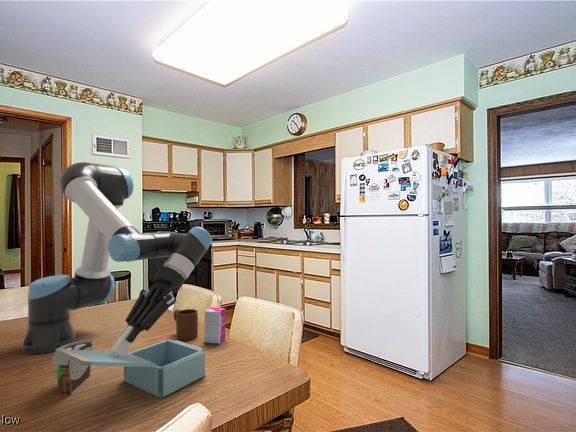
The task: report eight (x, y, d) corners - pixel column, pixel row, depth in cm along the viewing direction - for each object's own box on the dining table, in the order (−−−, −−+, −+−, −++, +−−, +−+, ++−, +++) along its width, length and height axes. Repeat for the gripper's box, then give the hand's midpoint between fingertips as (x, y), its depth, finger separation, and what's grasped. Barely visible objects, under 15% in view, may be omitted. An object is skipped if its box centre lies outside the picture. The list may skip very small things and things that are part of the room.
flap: (127, 352, 88) (56, 348, 74) (155, 363, 82) (82, 360, 68) (126, 356, 88) (54, 352, 74) (154, 367, 81) (81, 365, 68)
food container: (69, 375, 93) (69, 339, 93) (92, 374, 93) (92, 338, 93) (40, 399, 81) (40, 357, 81) (67, 398, 81) (67, 356, 81)
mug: (165, 335, 125) (165, 310, 125) (183, 329, 131) (183, 305, 131) (184, 342, 117) (184, 315, 117) (202, 336, 123) (202, 311, 123)
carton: (170, 360, 102) (170, 337, 102) (209, 374, 93) (209, 349, 93) (122, 380, 90) (122, 354, 90) (162, 399, 80) (162, 370, 80)
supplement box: (219, 345, 115) (219, 311, 115) (203, 344, 116) (203, 311, 116) (226, 339, 120) (225, 307, 121) (210, 338, 122) (210, 306, 122)
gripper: (197, 283, 92) (142, 366, 78) (167, 279, 99) (112, 354, 85) (181, 267, 88) (120, 351, 74) (151, 263, 95) (90, 340, 81)
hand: (116, 353), depth 80 cm, fingers closed
